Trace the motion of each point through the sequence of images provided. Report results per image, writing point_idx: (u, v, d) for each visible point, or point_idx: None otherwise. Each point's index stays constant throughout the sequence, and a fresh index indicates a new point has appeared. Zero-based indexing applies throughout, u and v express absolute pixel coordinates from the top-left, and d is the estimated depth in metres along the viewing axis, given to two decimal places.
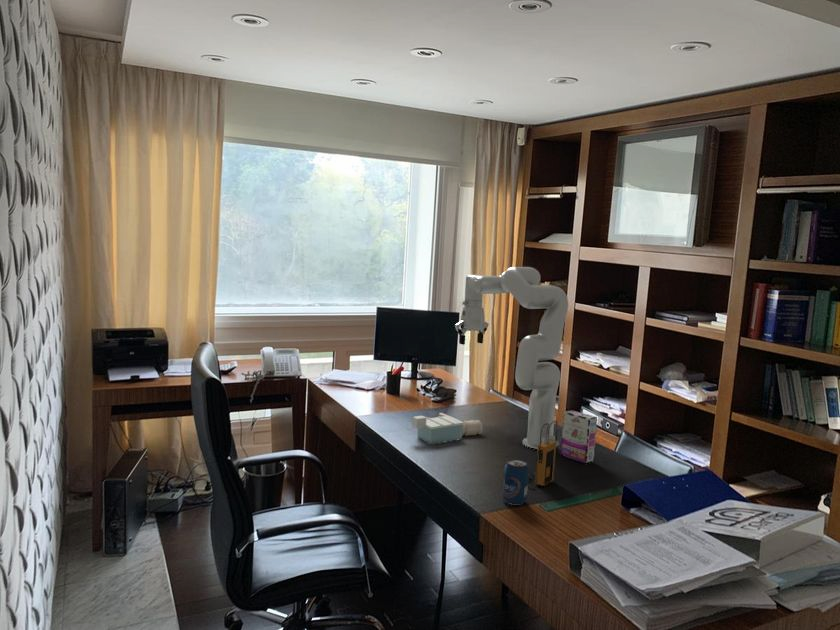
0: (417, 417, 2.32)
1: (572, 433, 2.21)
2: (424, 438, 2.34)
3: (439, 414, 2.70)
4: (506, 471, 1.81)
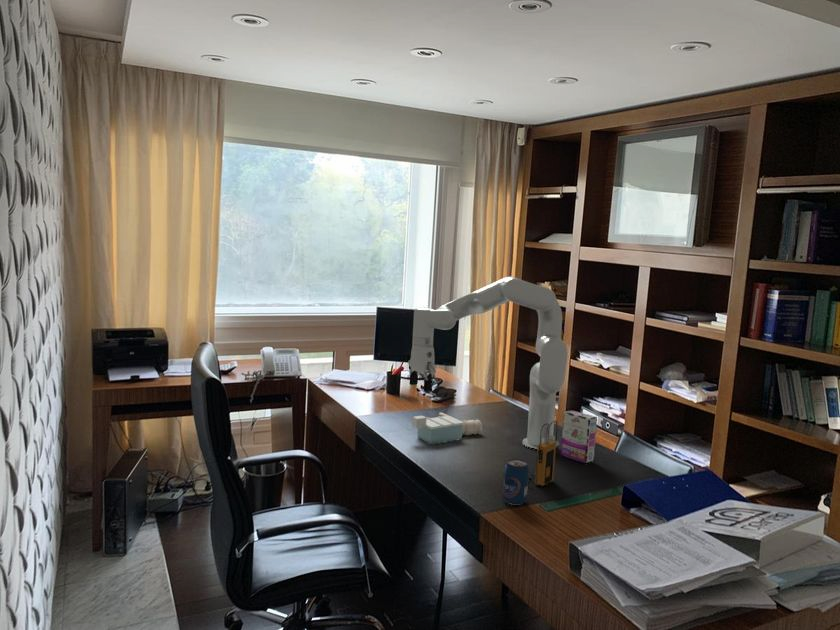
0: (417, 417, 2.32)
1: (572, 433, 2.21)
2: (424, 438, 2.34)
3: (439, 414, 2.70)
4: (506, 471, 1.81)
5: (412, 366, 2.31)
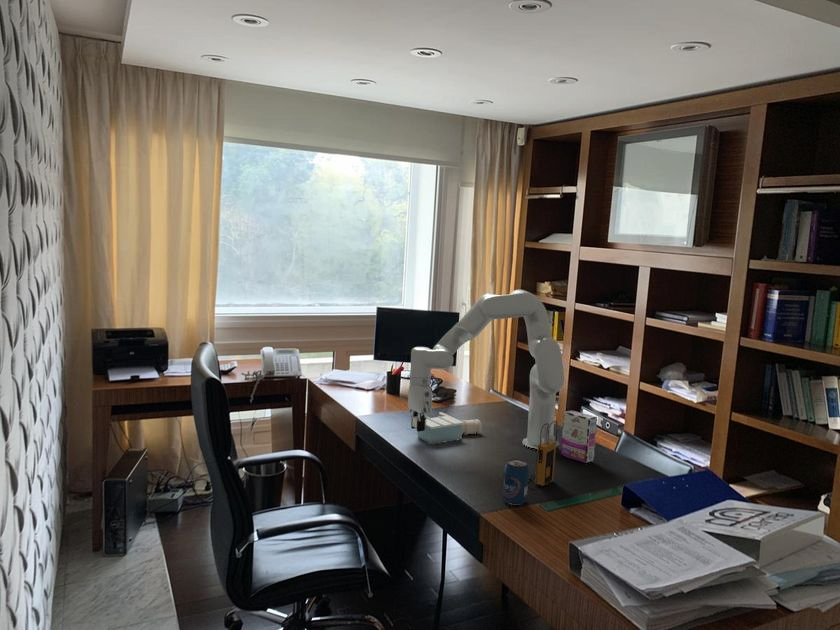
0: (417, 417, 2.32)
1: (572, 433, 2.21)
2: (424, 438, 2.34)
3: (439, 413, 2.71)
4: (506, 471, 1.81)
5: (410, 405, 2.33)
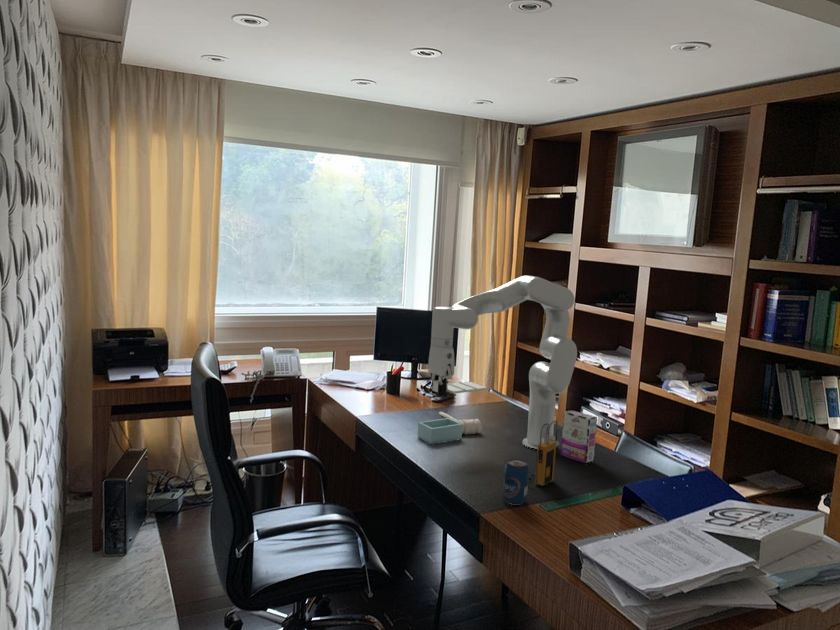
0: (438, 381, 2.19)
1: (572, 433, 2.21)
2: (424, 438, 2.34)
3: (439, 413, 2.72)
4: (506, 471, 1.81)
5: (430, 368, 2.20)
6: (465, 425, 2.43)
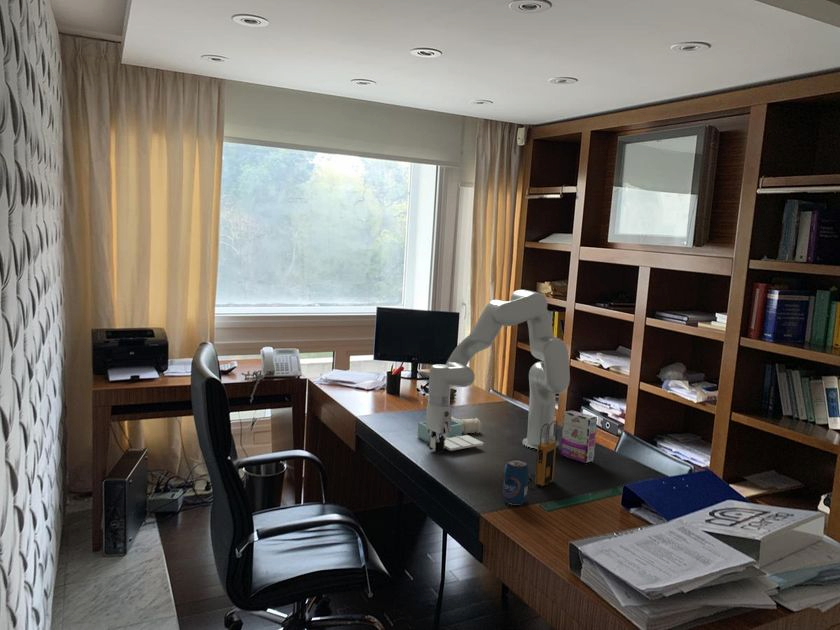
0: (435, 438, 2.22)
1: (572, 433, 2.21)
2: (424, 438, 2.34)
3: None
4: (506, 471, 1.81)
5: (428, 425, 2.23)
6: (465, 424, 2.44)
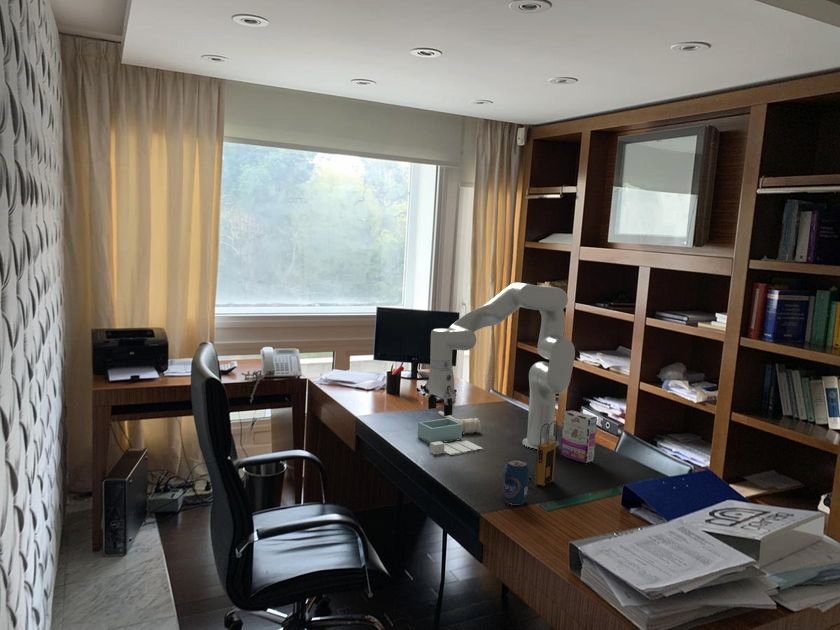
0: (435, 443, 2.22)
1: (572, 433, 2.21)
2: (424, 438, 2.34)
3: (438, 412, 2.72)
4: (506, 471, 1.81)
5: (430, 390, 2.21)
6: (464, 424, 2.44)
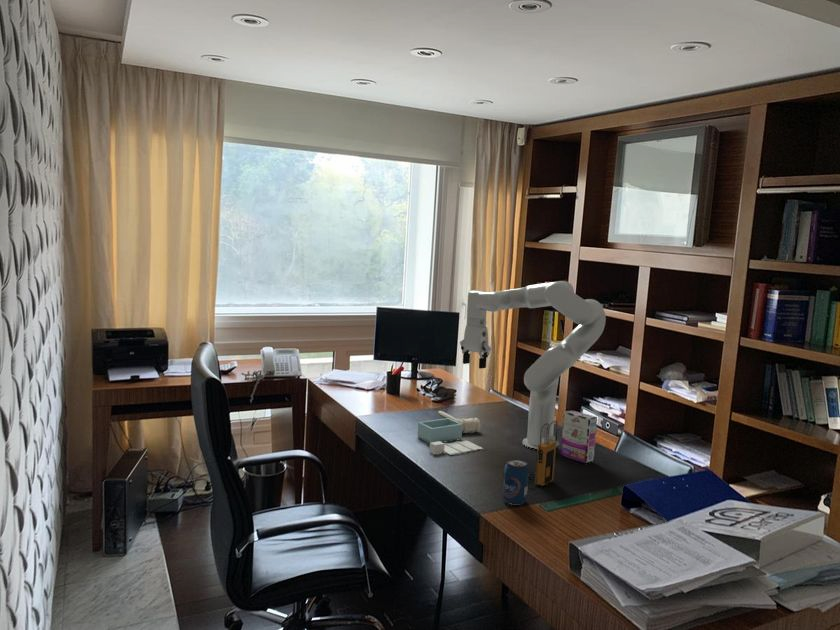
0: (435, 443, 2.22)
1: (572, 433, 2.21)
2: (424, 438, 2.34)
3: (438, 412, 2.73)
4: (506, 471, 1.81)
5: (466, 346, 2.46)
6: (464, 424, 2.45)
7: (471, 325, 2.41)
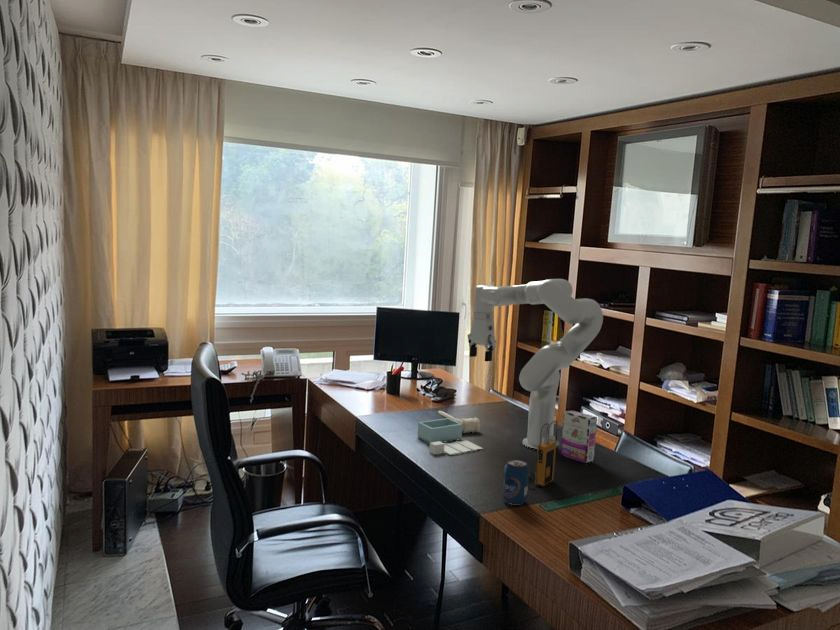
0: (435, 443, 2.22)
1: (572, 433, 2.21)
2: (424, 438, 2.34)
3: (438, 412, 2.73)
4: (506, 471, 1.81)
5: (473, 339, 2.52)
6: (464, 424, 2.45)
7: (478, 319, 2.47)
